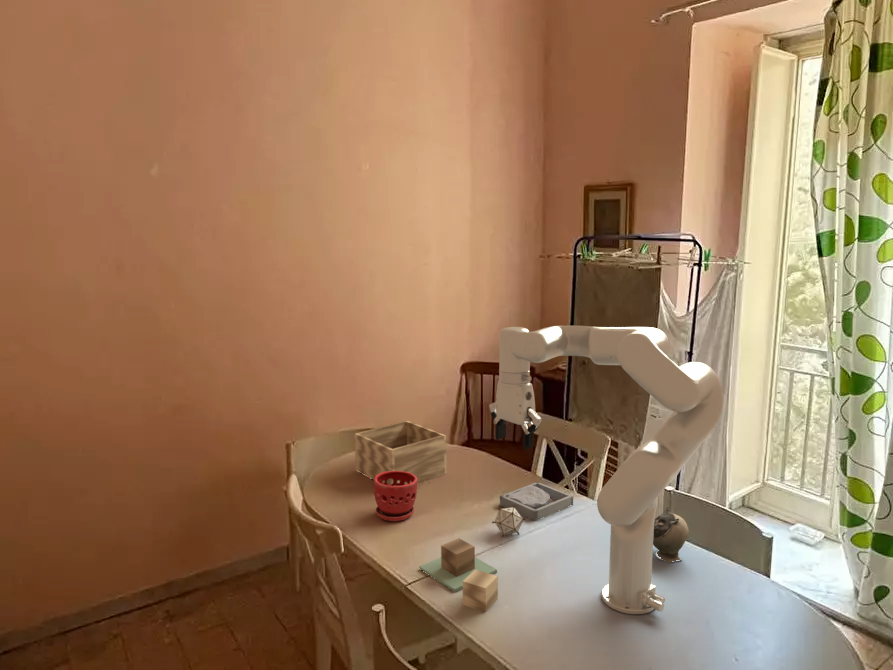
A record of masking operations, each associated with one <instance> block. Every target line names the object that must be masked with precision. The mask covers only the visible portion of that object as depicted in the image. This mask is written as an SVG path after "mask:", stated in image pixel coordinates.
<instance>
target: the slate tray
mask: <svg viewBox="0 0 893 670" xmlns="http://www.w3.org/2000/svg"><path fill="white" fill-rule="evenodd" d="M526 486H535V487H538V488H540V489H542V490H543V491H545V492H546V493H548V494H549V496H550V497H551V498H550V499H553V500H555V501H552V502H550V503H549V504H548V505H545V506H543V507H540V508H538V509H533V508H531V507H528V506H526V505H524V504H522V503H519V502H517V501H515V500H512V499H510V498H508V495H509V494H510V493H517V492H518V491H520V490H521V489H522V488H524V487H526ZM526 486H523V487H520V488H517V489H515V490H512V491H510V492H506V493H504V494H502V495H500V496H499V506H502V507H503V506H504V507H503V508H509V507H513V506H514V504H515V509H516V510H517V511H518V513H519V514H520V515H521V516H522V517H524V518H526V519H528V520H532V521H533V522H537V521H539V520H541V518H542V519H544V518H547V517H548V515H549V516H550V514H551V515H553V514H556V513H558V512H560V511H563V510H565V509H567V508H569V507H568V506H570V505H572V506H574V495H572V494H569V493H567V492H564V491H561V490H558V489H556V488H554V487H552V486H549V485H547V484H544V483H542V482H538V481H535V482H533V483H531V484H528V485H526ZM566 507H567V508H566ZM570 507H571V506H570ZM564 508H565V509H564ZM562 509H563V510H562ZM559 510H560V511H559ZM557 511H558V512H557ZM555 512H556V513H555ZM543 517H544V518H543Z"/></svg>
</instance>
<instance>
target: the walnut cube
mask: <svg viewBox="0 0 893 670" xmlns="http://www.w3.org/2000/svg"><path fill="white" fill-rule="evenodd" d="M475 548H476V547H475V545H473V544H471V543H468V542H467V541H465V540H463V539H461V538H460V537H458V538H456V539H454V540H451V541H448V542H446V543H444V544H441V545H440V551H441V552H440V554H441V555H440V556H441V557H440V558H441V568H443V569H445V570H446V571H448V572H450V573H451V574H453V575H454V576H456V577H458V576H460V575H462V574H464V573H466V572H469V571H471V570H473V569H475V557H476V556H475V555H476V554H475V553H476V552H475Z"/></svg>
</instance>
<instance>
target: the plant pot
mask: <svg viewBox="0 0 893 670" xmlns="http://www.w3.org/2000/svg"><path fill="white" fill-rule="evenodd" d="M388 479H393V484H391V485H388V484H387V480H388ZM398 480H399V481H400V483H397V481H398ZM383 481H385V482H384V483H383ZM410 481H411V482H412V483H411V482H410ZM405 482H407V483H408V484H407V485H405ZM373 494H374V495H373V496H374V500H375V502H376V508H375V513H376V515H377V517H378V518H380V519H382V520H385V521H389V522H401V521H403V520H406V519H409V518H410V517H411V516H412V515H414V512H415V508H414V505H415V502H416V498H417V494H418V483H417V477H416V476H415V475H413V474H411V473H409V472H404V471H387V472H383V473H380V474H378V475H376V476H375V478H374V481H373Z"/></svg>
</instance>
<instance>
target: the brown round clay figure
mask: <svg viewBox="0 0 893 670" xmlns="http://www.w3.org/2000/svg"><path fill="white" fill-rule="evenodd" d="M689 536H690V529H689V525H688V524H687V522H686V521H685V519H684V518H682V517H681V516H680V515H678V514H675V513H672V512H670V509H669V506H667V507H666V509H664V511H663V512H662V513H661V514H660V515H658V516H656V517H655V522H654V538H653V547H654V548H655V549H657V551H658V550H659V551H658V552H657V554H658V556H659V557H661V559H663V560H665V561H664V562H666V561H667V563H671V562H672V561H676V560H680V559H681V558H680V557H679V551H680V550H681V549H682V548H683V546H684V545H685V542H686V541H687V539H688V538H689Z"/></svg>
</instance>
